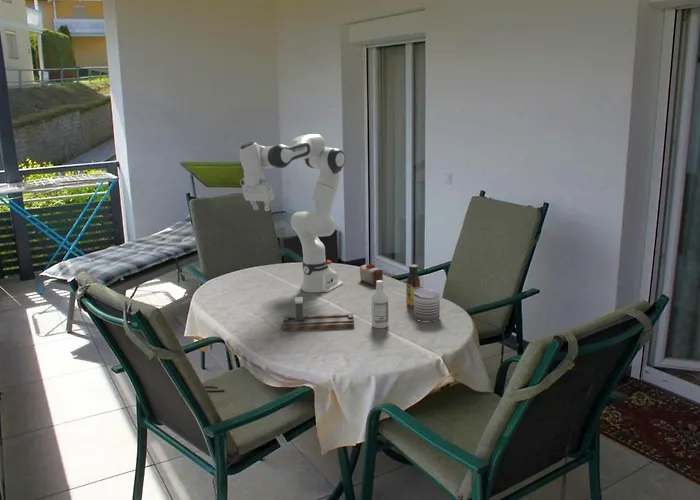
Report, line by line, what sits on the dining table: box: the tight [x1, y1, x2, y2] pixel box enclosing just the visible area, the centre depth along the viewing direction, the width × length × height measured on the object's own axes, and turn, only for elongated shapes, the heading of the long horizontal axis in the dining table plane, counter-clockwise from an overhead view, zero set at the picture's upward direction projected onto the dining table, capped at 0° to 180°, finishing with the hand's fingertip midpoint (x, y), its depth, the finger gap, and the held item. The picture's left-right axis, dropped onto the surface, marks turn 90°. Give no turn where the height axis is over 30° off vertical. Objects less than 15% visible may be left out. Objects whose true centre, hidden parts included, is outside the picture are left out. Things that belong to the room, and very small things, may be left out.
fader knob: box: [294, 296, 305, 322], centre depth 273 cm, size 4×5×10 cm
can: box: [413, 287, 441, 322], centre depth 279 cm, size 11×11×12 cm
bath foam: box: [371, 280, 389, 329], centre depth 270 cm, size 7×7×20 cm
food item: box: [359, 263, 384, 287], centre depth 330 cm, size 14×8×10 cm, turn 34°
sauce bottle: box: [405, 264, 421, 309], centre depth 292 cm, size 7×6×20 cm
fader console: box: [282, 312, 355, 332], centre depth 275 cm, size 30×12×4 cm, turn 94°
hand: (261, 210), depth 284 cm, fingers open, 8 cm apart
